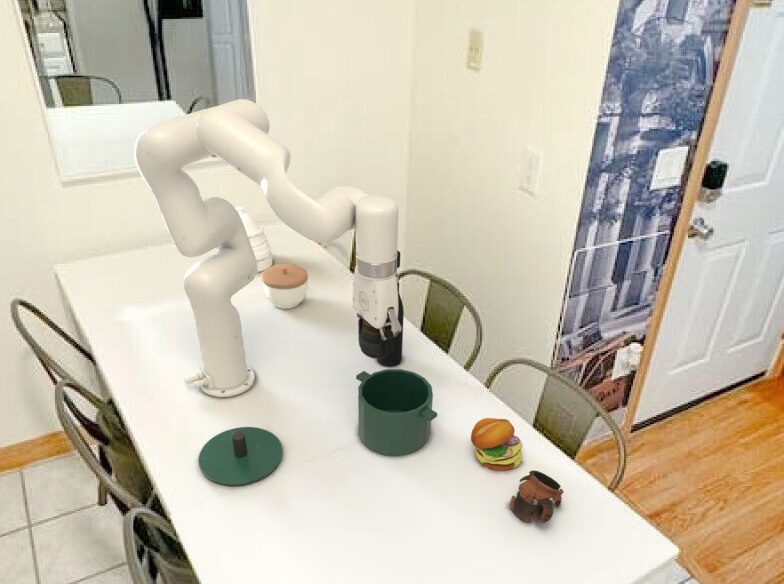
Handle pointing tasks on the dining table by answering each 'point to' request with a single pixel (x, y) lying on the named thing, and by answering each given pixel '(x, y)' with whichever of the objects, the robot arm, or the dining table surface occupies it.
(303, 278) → the lidded bowl
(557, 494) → the brown hollow piece
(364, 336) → the mate gourd
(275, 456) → the lid
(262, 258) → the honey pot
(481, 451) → the cheeseburger
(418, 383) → the pot
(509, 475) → the dining table surface
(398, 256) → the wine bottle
